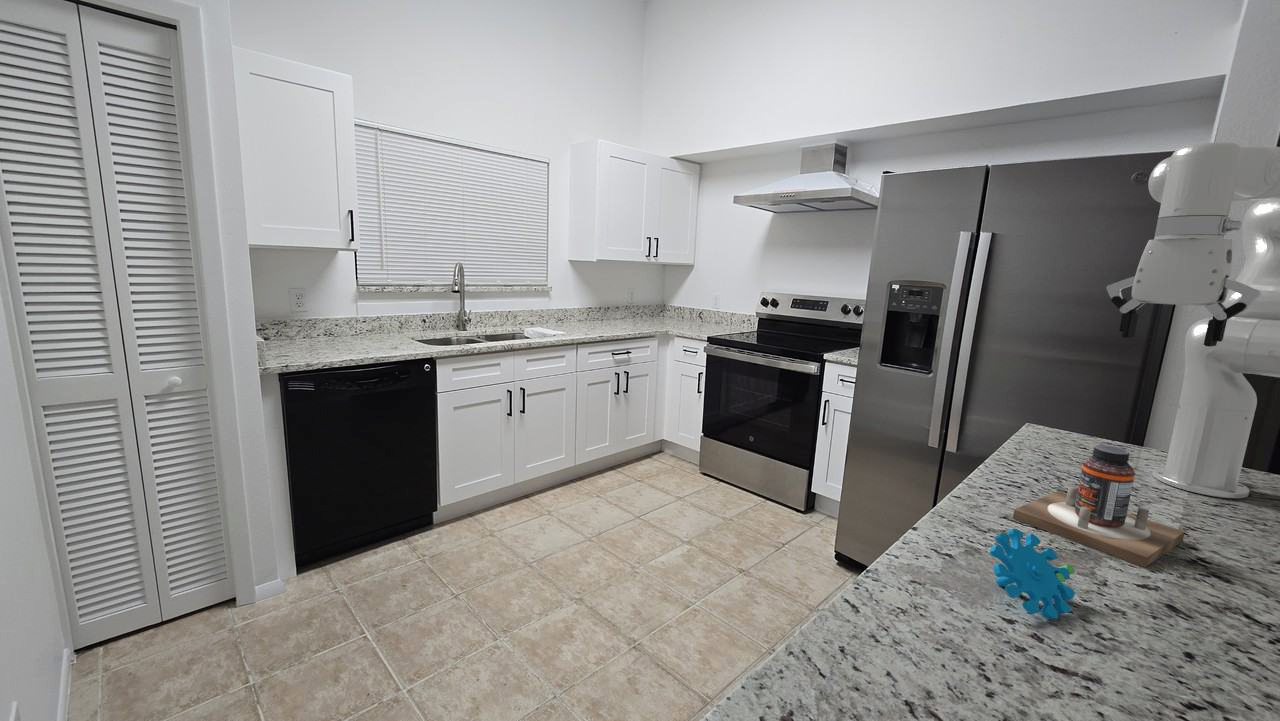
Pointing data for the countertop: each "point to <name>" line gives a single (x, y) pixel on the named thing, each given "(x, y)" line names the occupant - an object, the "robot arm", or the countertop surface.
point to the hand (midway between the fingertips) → (1166, 341)
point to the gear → (1032, 574)
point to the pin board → (1101, 529)
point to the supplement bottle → (1106, 486)
